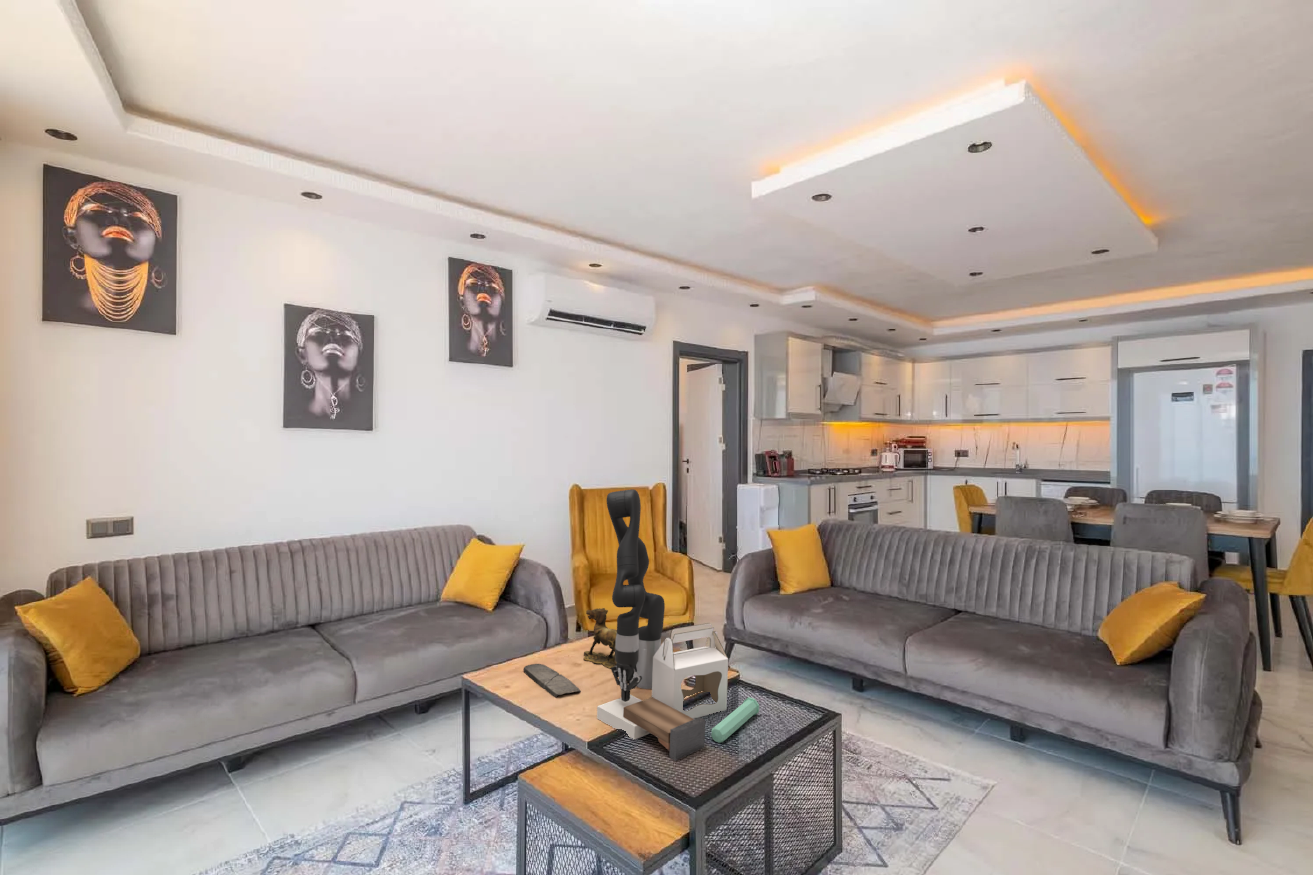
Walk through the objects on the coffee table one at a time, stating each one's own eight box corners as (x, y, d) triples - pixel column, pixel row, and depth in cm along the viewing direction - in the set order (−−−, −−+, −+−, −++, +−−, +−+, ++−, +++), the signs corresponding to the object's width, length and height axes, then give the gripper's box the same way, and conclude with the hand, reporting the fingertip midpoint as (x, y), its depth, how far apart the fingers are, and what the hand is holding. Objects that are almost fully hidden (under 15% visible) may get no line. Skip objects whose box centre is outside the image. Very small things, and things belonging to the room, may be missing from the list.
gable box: (672, 724, 198) (675, 636, 198) (650, 708, 209) (653, 624, 209) (727, 710, 210) (730, 626, 209) (704, 695, 221) (706, 616, 221)
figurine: (599, 649, 264) (601, 601, 264) (638, 667, 245) (640, 615, 245) (574, 655, 255) (576, 606, 255) (612, 674, 237) (614, 621, 236)
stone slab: (545, 660, 244) (582, 684, 219) (545, 668, 244) (582, 693, 219) (520, 666, 238) (556, 691, 213) (520, 674, 238) (556, 700, 213)
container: (721, 725, 186) (756, 695, 207) (704, 727, 189) (741, 698, 210) (727, 745, 185) (762, 713, 206) (711, 747, 188) (746, 716, 209)
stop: (698, 743, 186) (699, 717, 186) (704, 747, 184) (705, 720, 184) (669, 757, 178) (670, 729, 178) (675, 760, 176) (676, 732, 176)
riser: (629, 706, 210) (630, 694, 210) (667, 725, 197) (667, 713, 197) (596, 718, 200) (597, 705, 200) (634, 739, 187) (634, 726, 187)
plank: (651, 706, 201) (652, 697, 201) (697, 730, 186) (697, 720, 186) (623, 716, 193) (623, 707, 193) (668, 743, 178) (668, 733, 178)
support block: (672, 737, 189) (672, 724, 189) (683, 746, 184) (683, 733, 184) (658, 741, 187) (658, 728, 187) (668, 750, 182) (669, 737, 182)
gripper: (605, 643, 203) (603, 696, 203) (632, 655, 194) (630, 710, 194) (622, 639, 208) (620, 690, 209) (649, 649, 199) (648, 704, 199)
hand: (625, 700), depth 201 cm, fingers closed
